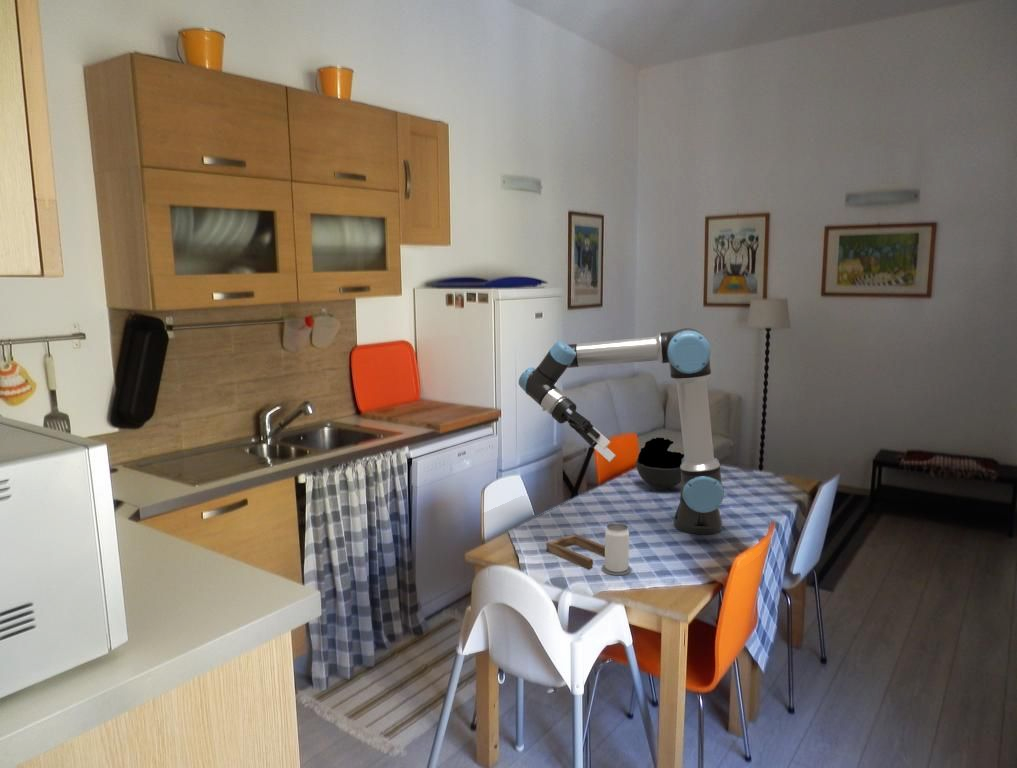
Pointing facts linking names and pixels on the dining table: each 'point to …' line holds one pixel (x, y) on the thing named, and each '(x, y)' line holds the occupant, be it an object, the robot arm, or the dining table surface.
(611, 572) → the felt pad
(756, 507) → the dining table surface
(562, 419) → the robot arm
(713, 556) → the dining table surface
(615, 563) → the can
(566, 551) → the u-shaped wooden frame
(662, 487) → the coal bowl
